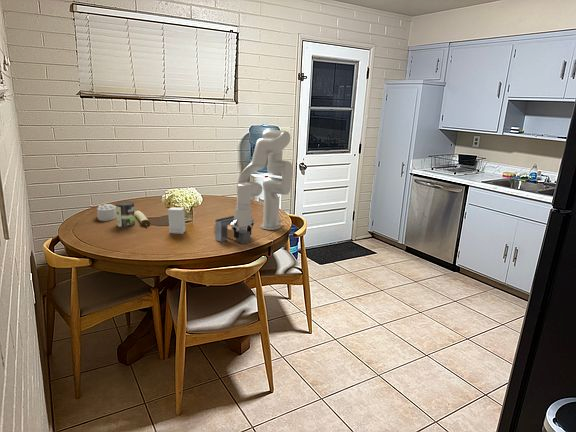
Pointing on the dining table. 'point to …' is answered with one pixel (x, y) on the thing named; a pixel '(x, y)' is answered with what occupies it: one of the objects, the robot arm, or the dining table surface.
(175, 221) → the skincare box
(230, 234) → the plug
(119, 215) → the coffee can
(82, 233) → the dining table surface
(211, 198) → the dining table surface
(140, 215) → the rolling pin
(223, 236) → the grey arch-shaped block
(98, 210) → the lumpy-topped squat cylinder
